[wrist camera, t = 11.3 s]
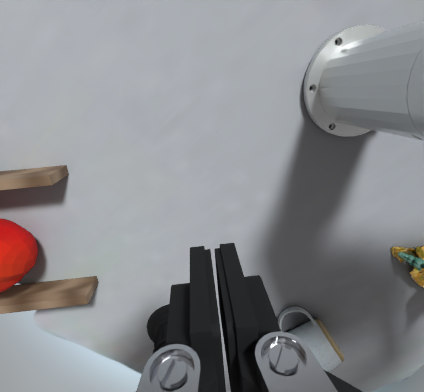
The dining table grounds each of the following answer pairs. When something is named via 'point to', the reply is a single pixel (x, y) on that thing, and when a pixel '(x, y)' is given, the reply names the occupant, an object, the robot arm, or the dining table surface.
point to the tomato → (15, 253)
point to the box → (52, 290)
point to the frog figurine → (412, 261)
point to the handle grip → (158, 327)
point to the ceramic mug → (316, 339)
